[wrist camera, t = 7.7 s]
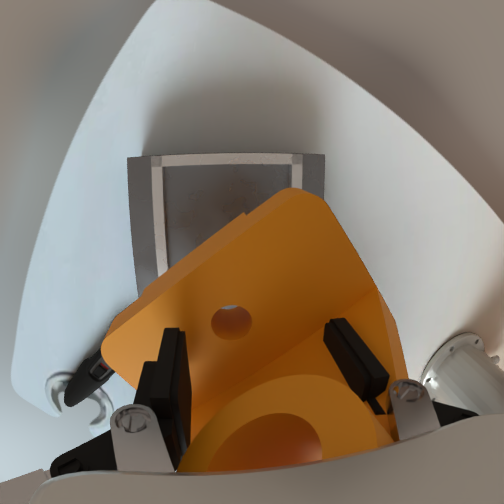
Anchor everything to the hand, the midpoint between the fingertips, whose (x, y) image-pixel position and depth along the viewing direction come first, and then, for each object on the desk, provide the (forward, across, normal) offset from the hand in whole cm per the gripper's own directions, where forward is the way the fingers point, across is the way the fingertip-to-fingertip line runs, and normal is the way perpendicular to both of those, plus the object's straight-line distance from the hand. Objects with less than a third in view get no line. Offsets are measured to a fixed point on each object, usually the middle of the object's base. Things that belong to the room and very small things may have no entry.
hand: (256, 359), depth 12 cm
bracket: (+4, 0, 0) cm, 4 cm away
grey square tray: (+20, 0, 0) cm, 20 cm away
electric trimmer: (+20, +15, +14) cm, 29 cm away
